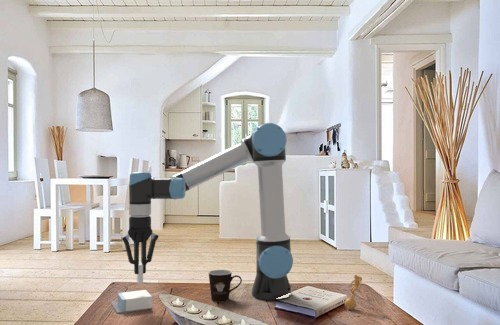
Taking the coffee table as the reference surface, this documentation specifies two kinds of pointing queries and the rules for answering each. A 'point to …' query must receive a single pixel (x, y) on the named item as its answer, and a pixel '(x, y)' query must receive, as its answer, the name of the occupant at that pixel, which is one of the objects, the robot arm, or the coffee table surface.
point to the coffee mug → (221, 284)
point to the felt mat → (118, 310)
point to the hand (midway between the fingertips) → (140, 282)
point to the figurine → (350, 302)
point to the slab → (134, 300)
